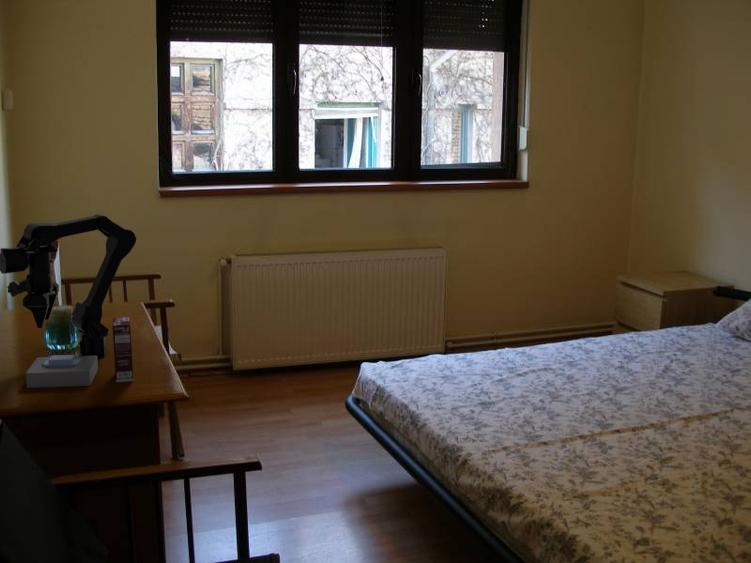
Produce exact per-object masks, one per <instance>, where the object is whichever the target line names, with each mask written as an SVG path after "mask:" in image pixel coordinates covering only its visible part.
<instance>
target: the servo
mask: <svg viewBox="0 0 751 563" xmlns="http://www.w3.org/2000/svg"><path fill="white" fill-rule="evenodd" d="M75 356H76V355H75V354H63V355H62V354H60V355H56V354H54V355H50V356H49V357H50V359H49V360H46V361H45V363H44V364H43V367H49V368H50V367H75V366H78V365H79V364H80V362H81V359H75Z"/></svg>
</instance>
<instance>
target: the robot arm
mask: <svg viewBox="0 0 751 563" xmlns="http://www.w3.org/2000/svg"><path fill="white" fill-rule="evenodd" d="M95 231H98V232H100V233H101V234H102V235H103V236H105V237H106V243H105V256H104V258H103V261H102V263H101V264H100V267H99V269H98V272H97V274H96V276H95V278H94V280H93V283H92V286H91V288H90V290H89V292H88V295H87V297H86V298H85V300H84V301H82V302H79V301H77V302H76V303H75V306H74V310H73V311H72V312H71V314H70V316H71V323H72V325H73V327H74V328H76V329H77V331H78V332H79V334H81V336H80V337H81V339H79V340H80V341H79V352H80V353H79V355H80V356H97V359H99V358H105V357H106V355H107V352H108V350H107V349H106V348H107V347H106V346H107V345H106V337H108V333H109V331H110V329H109V328H107V327H106V325H104V324H103V323H101V322H102V319H103V305H104V302H105V300H106V297H107V295H108V293H109V290H110V288H111V286H112V283H113V281H114V279H115V277H116V274H117V272H118V269H119V267H120V265H121V263H122V261H123V259H125V258H126V257H127V256H128V254H130V253H131V251H133V250H132V249H133V248H134V246H135V245H136V243H137V236H136V234H135V232H134V231H133V230H131V229H127V228H123V227H122V226H121V225H119V224H117V223H115V222H114V221H112V219H110V218H108V216H107V215H102V214H97V213H96V214H94V215H92V216H91V215H90V216H86V217H82V218H76V219H70V220H65V221H61V222H32V223H28V224H27V225H26V226H25V228H24V229H23V234H22V236H21V237H20V240H19V241H18V242H17V244H16V246H15V247H2V248H0V273H1V274H2V275H5V274H12V273H13V274H14V273H19V272H21V273H22V272H24V271H26V269H28V273H27V275H25V276H26V277H25V278H22V279H19V280H14V281H10V282H9V284H8V285H7V286H6V287H7V292H8V294H10V296H11V297H12V298H13V297H17V295H20V294H23V293H25V292H26V295H25V296H24V297H23V298H22V306H23V307H24V308H25V309H27V310H29V311H31V314H32V316H33V319H34V322H35V325H36V327H37V329H42V328H43V326H44V323H45V320H46V321H48V320H49V319H50V317H51V314H52V312H53V308H54V305H55V303H56V301H57V297H58V295H59V292H60V286H59V283H58V282H56V281H52V275H53V270H52V269H51V268H52V267H51V255H50V254H51V253H56V252H58V248H55V247H54V246H53V245H52V243H54V242H57V241H58V240H60V239H62V238H65V237H70V236H74V235H81V234H84V233H88V232H89V233H90V232H95Z"/></svg>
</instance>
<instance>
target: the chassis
mask: <svg viewBox="0 0 751 563" xmlns="http://www.w3.org/2000/svg"><path fill="white" fill-rule="evenodd" d="M50 357H51V356H42V357H36V359H35V360H34V361H33V363H32V364H31V365H30V367H29V368H28V369H27V371H26V372H25V379H26V380H25V381H26V382H25V384H26V389H30V388H32V389H33V388H34V389H35V388H57V387H60V388H61V387H84V386H85V387H87V386H91V385H92V382H93V380H94V378H95V377H96V375H97V372H98V371H99V363H98V358H97V356H82V355H75V359H81V362H80V364H79V365H78V366H75V367H50V368H49V367H43V364H44V363H45V361H46V360H49V359H50Z"/></svg>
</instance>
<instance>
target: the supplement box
mask: <svg viewBox="0 0 751 563" xmlns="http://www.w3.org/2000/svg"><path fill="white" fill-rule="evenodd" d="M111 320H112V321H111V322H112V325H111V326H112V345H113V346H112V348H113V361H114V362H113V363H114V373H115V374H114V375H115V382H116V383H124V382H127V383H128V382H134V367H133V366H134V363H133V346H132V334H131V321H130V320H131V319H130V316H123V317H122V316H121V317H113V318H112V319H111Z"/></svg>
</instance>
